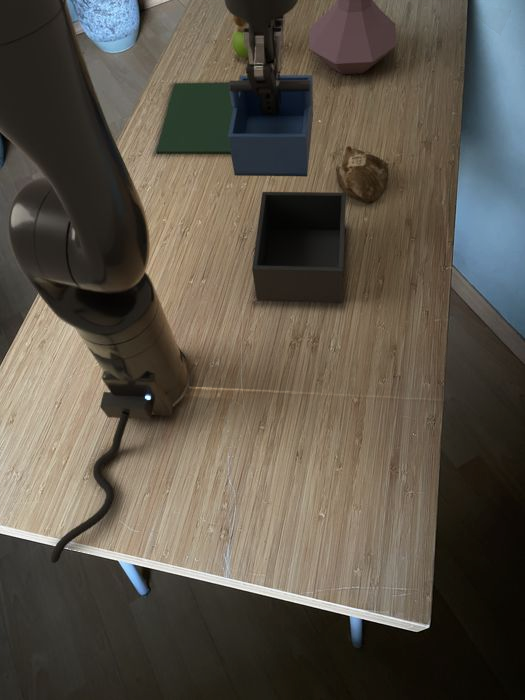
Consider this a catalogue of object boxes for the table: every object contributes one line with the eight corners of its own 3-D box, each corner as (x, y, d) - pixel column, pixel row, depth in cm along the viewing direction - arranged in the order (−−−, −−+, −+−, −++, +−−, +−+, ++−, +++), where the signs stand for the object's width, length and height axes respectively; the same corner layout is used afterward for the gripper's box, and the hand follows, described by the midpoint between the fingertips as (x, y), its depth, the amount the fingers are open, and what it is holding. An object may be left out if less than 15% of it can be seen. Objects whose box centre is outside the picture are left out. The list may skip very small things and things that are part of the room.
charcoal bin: (341, 305, 81) (343, 271, 74) (257, 302, 82) (251, 268, 76) (344, 229, 88) (346, 192, 81) (266, 228, 89) (262, 191, 82)
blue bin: (309, 176, 72) (307, 113, 64) (232, 175, 73) (221, 113, 65) (314, 116, 77) (314, 51, 69) (243, 116, 78) (234, 52, 71)
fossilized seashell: (340, 145, 93) (321, 196, 90) (362, 123, 87) (342, 177, 84) (379, 168, 95) (362, 220, 92) (403, 148, 89) (385, 203, 86)
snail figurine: (271, 48, 112) (266, -18, 101) (252, 67, 109) (245, 1, 99) (247, 41, 114) (240, -25, 103) (228, 59, 111) (219, -6, 101)
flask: (326, 25, 114) (327, -94, 97) (409, 41, 109) (425, -82, 92) (292, 77, 107) (286, -42, 90) (379, 95, 102) (391, -26, 85)
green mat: (250, 153, 98) (250, 151, 97) (156, 153, 99) (155, 151, 99) (261, 84, 107) (260, 81, 106) (174, 85, 108) (174, 83, 108)
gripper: (228, -84, 59) (247, 72, 74) (207, -7, 53) (233, 148, 68) (303, -87, 58) (306, 72, 73) (291, -9, 52) (298, 148, 67)
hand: (271, 108), depth 70 cm, fingers closed on blue bin, 1 cm apart
